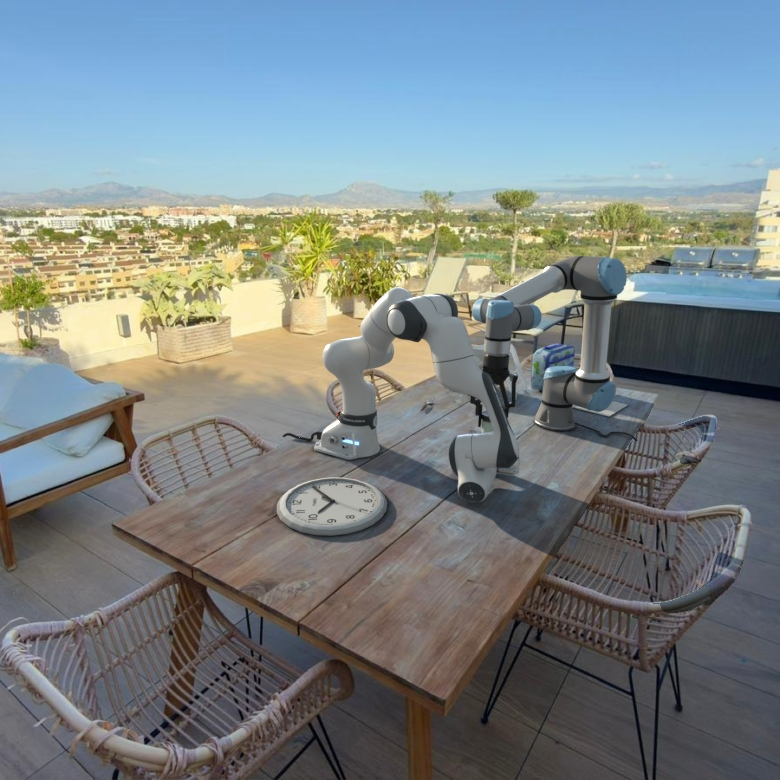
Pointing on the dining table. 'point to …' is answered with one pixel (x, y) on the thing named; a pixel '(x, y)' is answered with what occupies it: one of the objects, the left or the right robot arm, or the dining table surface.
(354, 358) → the left robot arm
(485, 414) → the lid
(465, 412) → the dining table surface
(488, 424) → the bottle
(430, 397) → the fork
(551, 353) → the lunch box
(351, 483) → the wall clock
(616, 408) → the invitation card
